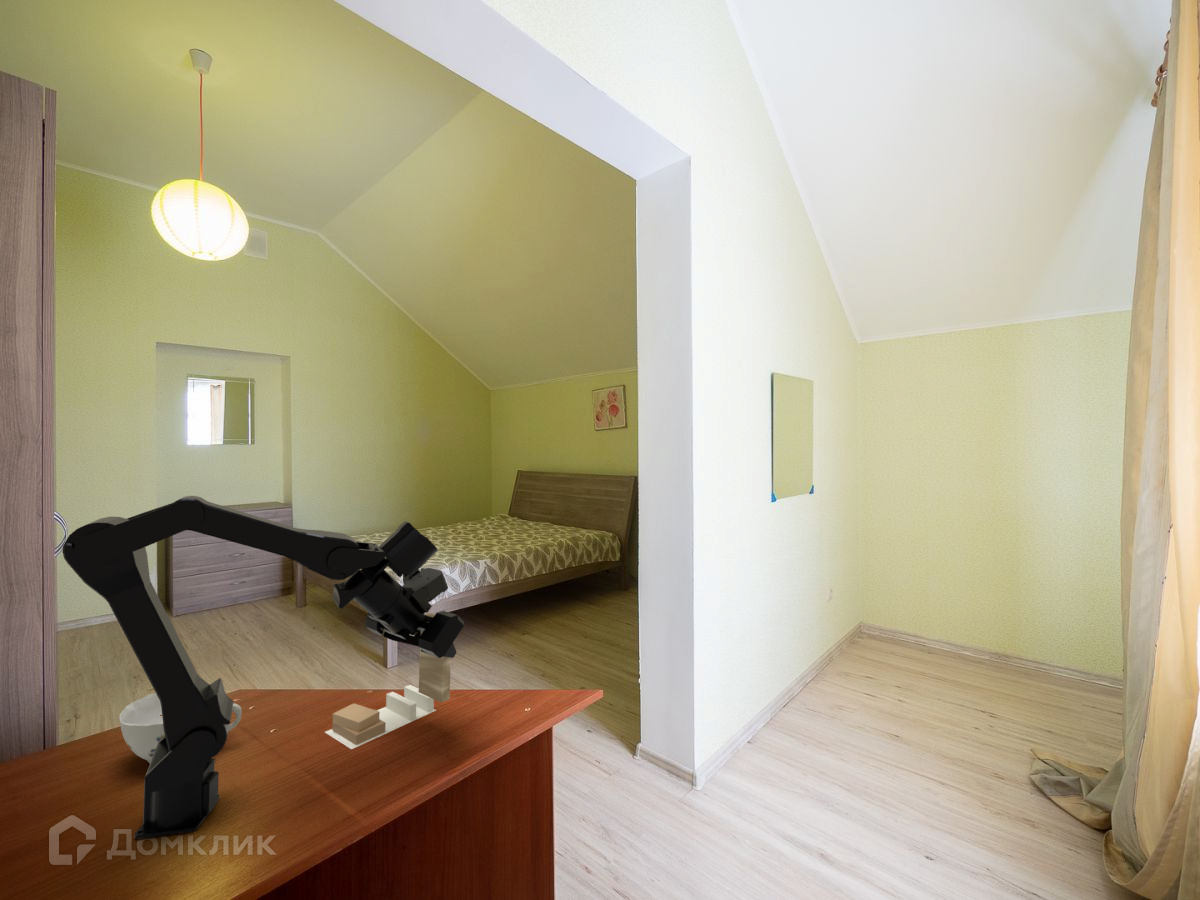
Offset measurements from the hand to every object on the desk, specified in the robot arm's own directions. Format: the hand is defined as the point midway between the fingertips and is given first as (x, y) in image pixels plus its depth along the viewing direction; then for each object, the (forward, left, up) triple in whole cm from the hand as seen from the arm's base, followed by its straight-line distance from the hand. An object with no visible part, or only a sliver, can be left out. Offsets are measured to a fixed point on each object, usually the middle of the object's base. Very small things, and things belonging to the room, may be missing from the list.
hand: (442, 650), depth 88 cm
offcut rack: (-9, +3, -13) cm, 17 cm away
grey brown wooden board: (-1, -1, -7) cm, 7 cm away
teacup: (-38, +1, -14) cm, 40 cm away
